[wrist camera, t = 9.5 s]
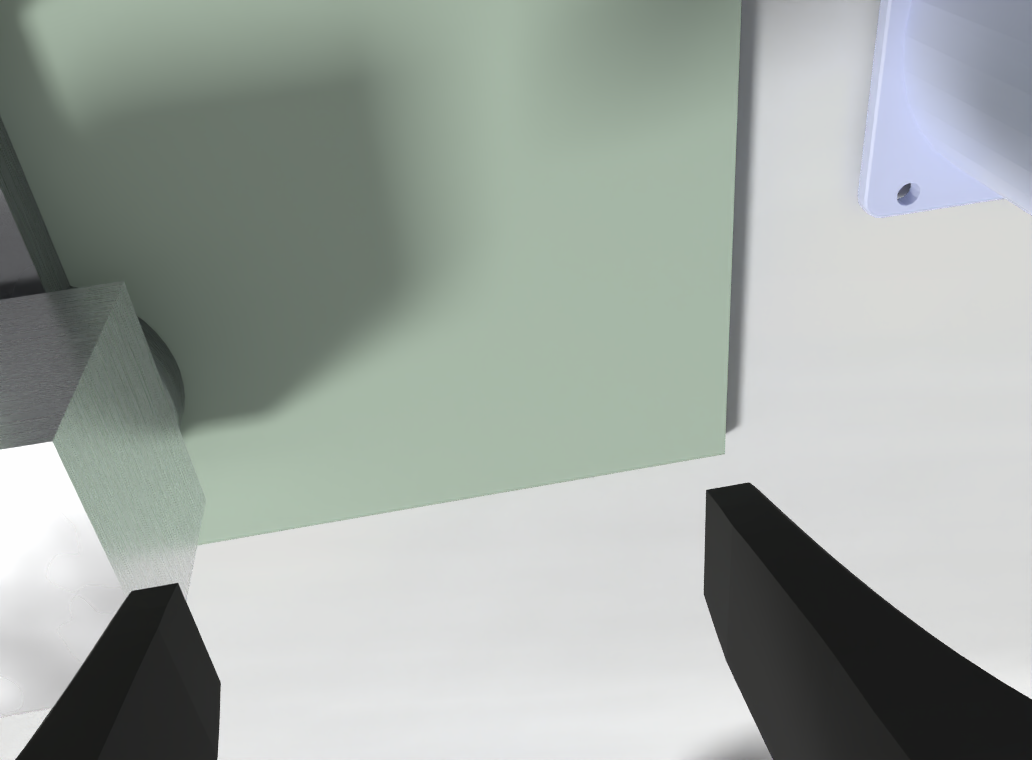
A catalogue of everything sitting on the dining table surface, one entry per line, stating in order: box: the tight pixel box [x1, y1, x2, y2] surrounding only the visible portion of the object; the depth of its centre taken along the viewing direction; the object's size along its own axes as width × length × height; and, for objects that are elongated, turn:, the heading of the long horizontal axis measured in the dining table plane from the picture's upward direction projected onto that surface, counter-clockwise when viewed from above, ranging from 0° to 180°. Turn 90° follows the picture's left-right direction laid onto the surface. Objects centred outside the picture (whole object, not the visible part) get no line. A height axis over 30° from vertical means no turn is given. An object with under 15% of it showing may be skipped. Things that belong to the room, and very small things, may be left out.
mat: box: [0, 0, 741, 545], centre depth 17 cm, size 26×22×1 cm
